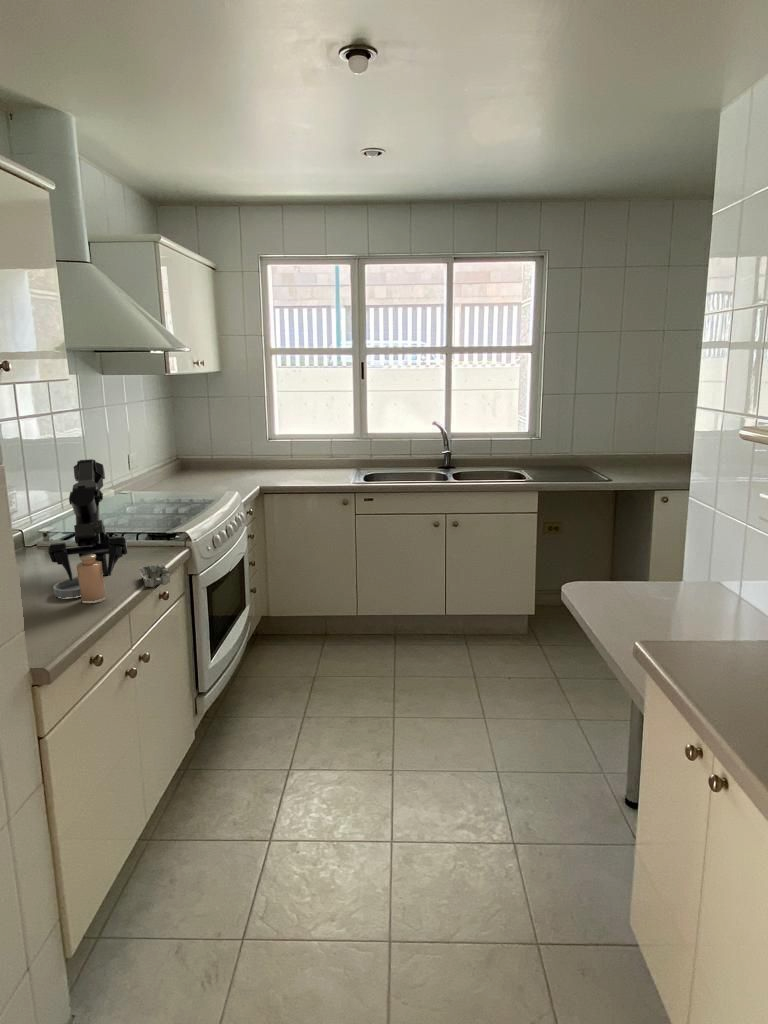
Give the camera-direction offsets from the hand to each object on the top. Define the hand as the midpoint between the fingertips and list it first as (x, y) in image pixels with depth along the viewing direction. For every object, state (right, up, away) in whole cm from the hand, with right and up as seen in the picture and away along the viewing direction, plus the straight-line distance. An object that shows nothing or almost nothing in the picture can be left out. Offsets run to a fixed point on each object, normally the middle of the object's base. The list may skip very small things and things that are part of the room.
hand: (90, 577), depth 174 cm
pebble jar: (0, -6, +3) cm, 7 cm away
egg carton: (+11, -3, +17) cm, 21 cm away
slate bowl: (-8, -5, +9) cm, 13 cm away
